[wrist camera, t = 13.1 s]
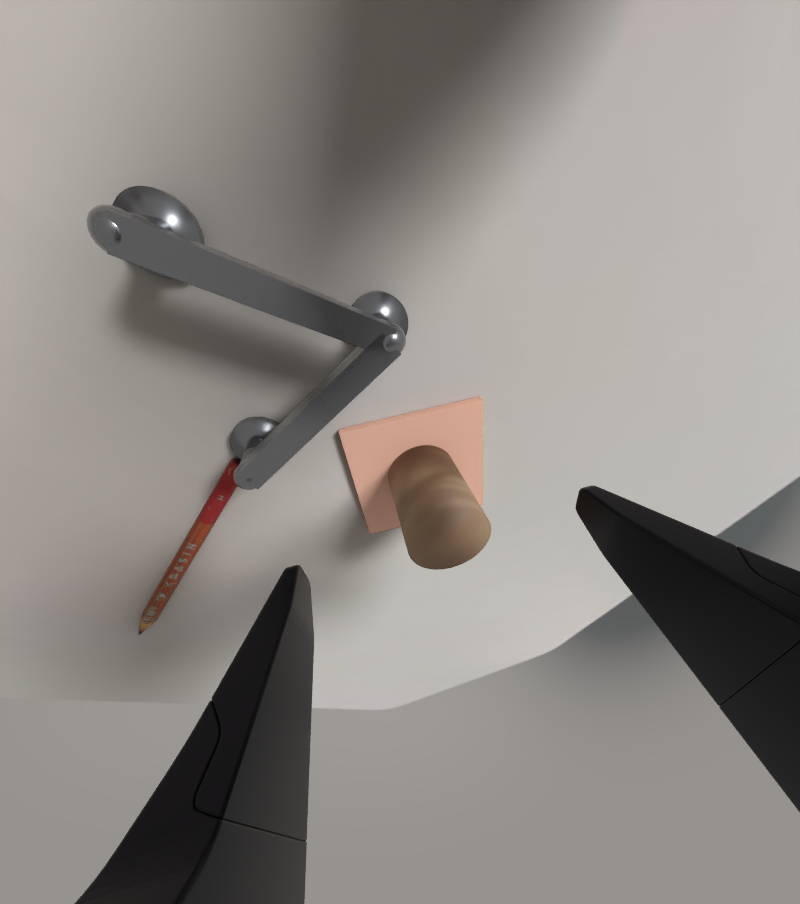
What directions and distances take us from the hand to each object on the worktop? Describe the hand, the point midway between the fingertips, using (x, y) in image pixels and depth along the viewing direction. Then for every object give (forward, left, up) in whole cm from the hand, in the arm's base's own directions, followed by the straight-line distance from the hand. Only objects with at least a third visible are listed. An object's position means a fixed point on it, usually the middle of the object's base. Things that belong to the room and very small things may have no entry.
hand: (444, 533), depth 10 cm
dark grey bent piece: (+4, -4, -11) cm, 12 cm away
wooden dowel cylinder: (-1, +6, -10) cm, 12 cm away
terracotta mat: (-1, +6, -11) cm, 12 cm away
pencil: (+16, +8, -11) cm, 22 cm away
